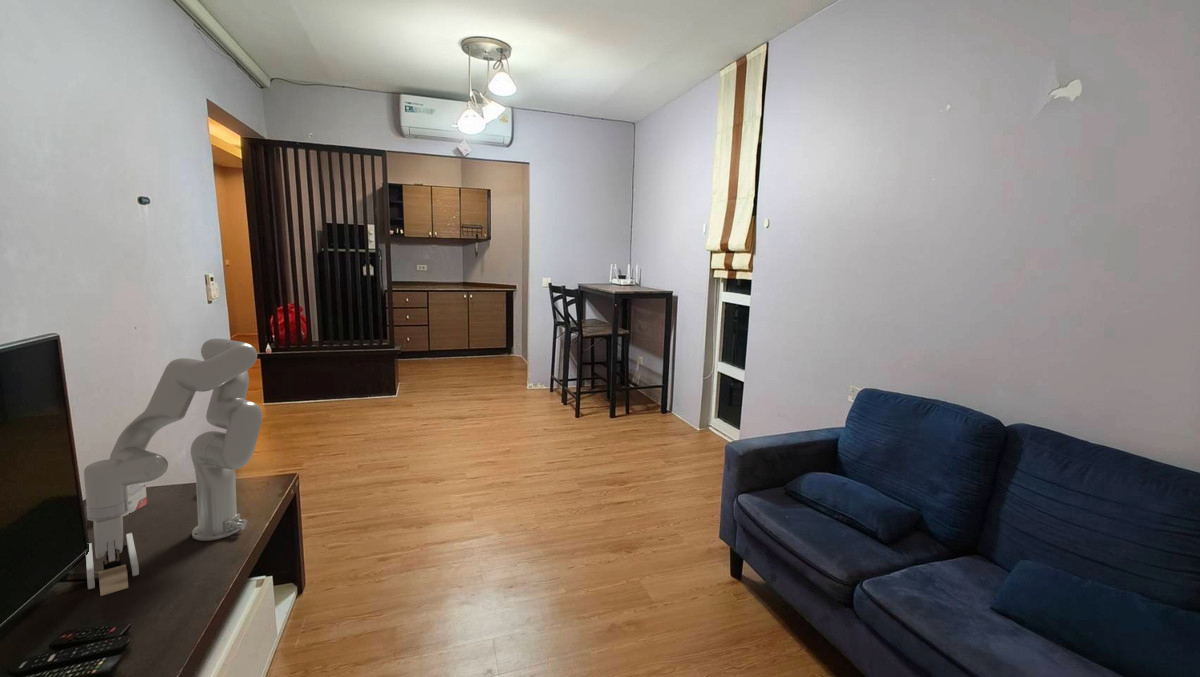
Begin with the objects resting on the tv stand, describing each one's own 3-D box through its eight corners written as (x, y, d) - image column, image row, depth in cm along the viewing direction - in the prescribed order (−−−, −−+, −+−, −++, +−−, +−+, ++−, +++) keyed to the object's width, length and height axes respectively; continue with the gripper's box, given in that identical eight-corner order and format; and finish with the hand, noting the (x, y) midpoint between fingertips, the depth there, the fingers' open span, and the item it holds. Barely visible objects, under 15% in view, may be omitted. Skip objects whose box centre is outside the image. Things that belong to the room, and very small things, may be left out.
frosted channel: (86, 554, 137) (85, 544, 137) (132, 542, 144) (131, 532, 144) (88, 589, 124) (87, 578, 123) (139, 574, 131) (138, 564, 130)
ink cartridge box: (133, 503, 165) (130, 461, 163) (147, 504, 165) (145, 462, 163) (107, 516, 157) (103, 472, 154) (122, 517, 157) (119, 473, 154)
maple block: (99, 586, 125) (98, 571, 125) (126, 578, 129) (125, 564, 128) (100, 596, 122) (99, 581, 121) (128, 587, 126) (127, 573, 125)
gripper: (86, 501, 128) (91, 566, 131) (87, 525, 118) (92, 594, 121) (126, 493, 134) (130, 556, 136) (130, 515, 124) (134, 582, 126)
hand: (112, 574), depth 128 cm, fingers closed
